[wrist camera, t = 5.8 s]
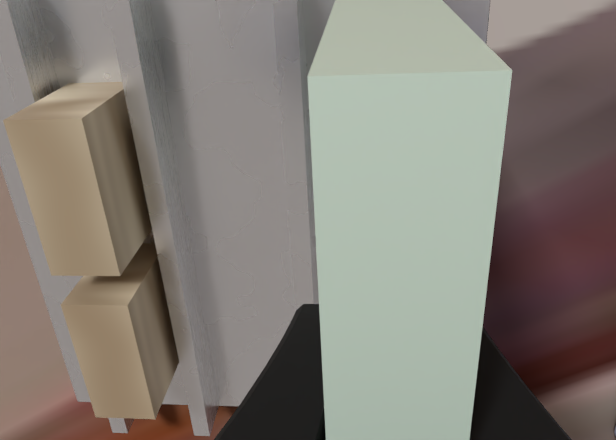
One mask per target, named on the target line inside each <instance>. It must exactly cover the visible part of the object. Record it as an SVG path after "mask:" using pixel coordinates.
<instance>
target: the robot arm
mask: <svg viewBox="0 0 616 440" xmlns="http://www.w3.org/2000/svg"><path fill="white" fill-rule="evenodd" d="M614 434H615V436H616V427H615V430H614ZM214 440H326V433H325V414H324V394H323V374H322V354H321V334H320V315H319V304H303V305H302V306H300V307H299V308H298V309H297V310H296V312H295V314H294V316H293V318H292V320H291V322H290V324H289V326H288V328H287V330H286V332H285V334H284V336H283V337H282V339H281V341H280V343H279V344H278V346H277V348H276V350H275V351H274V353H273V354H272V356H271V358H270V359H269V361H268V363H267V364H266V366H265V368H264V369H263V371H262V372H261V374H260V375H259V377H258V378H257V380H256V381H255V383H254V384H253V386H252V387H251V389H250V390H249V392H248V393H247V395H246V396H245V398H244V399H243V401H242V402H241V404H240V405H239V407H238V408H237V409H236V411H235V412H234V414H233V415H232V416H231V418H230V419H229V420H228V422H227V423H226V424H225V426H224V427H223V428H222V430H221V431H220V432H219V434H218V435H217V436H216V438H215V439H214ZM470 440H571V439H570V437H569V436H568V435H567V434H566V433H565V432H564V430H563V429H562V428H561V427H560V426H559V425H558V423H557V422H556V421H555V420H554V419H553V417H552V416H551V415H550V414H549V412H548V411H547V410H546V409H545V408H544V406H543V405H542V404H541V403H540V402H539V400H538V399H537V398H536V397H535V395H534V394H533V393H532V392H531V391H530V389H529V388H528V387H527V386H526V384H525V383H524V382H523V380H522V379H521V378H520V377H519V375H518V374H517V373H516V372H515V370H514V369H513V368H512V366H511V365H510V364H509V362H508V361H507V360H506V358H505V357H504V356H503V354H502V353H501V352H500V350H499V349H498V347H497V346H496V345H495V343H494V342H493V340H492V339H491V338H490V336H489V335H488V333H487V332H486V331H485V329H484V328H483V327H482V336H481V345H480V353H479V362H478V370H477V379H476V388H475V396H474V405H473V414H472V422H471V431H470Z"/></svg>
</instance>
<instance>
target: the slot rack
mask: <svg viewBox="0 0 616 440" xmlns="http://www.w3.org/2000/svg"><path fill="white" fill-rule="evenodd" d="M443 1H444V2H445V3H446V4H447V5H448V6H449V7H450V8H451V9H452V10H453V11H454V12H455V13H456V14H457V15H458V16H459V17H460V18H461V19H462V20H463V21H464V22H465V23H466V24H467V25H468V26H469V28H470V29H471V30H472V31H473V32H474V33H475V34H476V35H477V36H478V37H479V38H480V39H481V40H482V41H483V42H484V43H485V44H486V41H487V31H488V20H489V8H490V0H443ZM334 2H335V0H0V165H1V168H2V171H3V174H4V178H5V181H6V184H7V187H8V190H9V193H10V196H11V199H12V202H13V205H14V208H15V211H16V214H17V217H18V220H19V223H20V226H21V229H22V232H23V236H24V239H25V242H26V245H27V248H28V251H29V254H30V257H31V260H32V263H33V266H34V269H35V272H36V275H37V278H38V281H39V284H40V287H41V291H42V294H43V297H44V300H45V303H46V306H47V309H48V312H49V315H50V318H51V321H52V324H53V327H54V330H55V333H56V336H57V339H58V342H59V345H60V349H61V352H62V355H63V358H64V361H65V364H66V367H67V370H68V373H69V376H70V379H71V382H72V385H73V388H74V391H75V394H76V397H77V400H78V401H79V402H91V400H90V397H89V394H88V391H87V388H86V384H85V381H84V378H83V375H82V372H81V368H80V365H79V362H78V359H77V356H76V352H75V349H74V346H73V343H72V340H71V336H70V333H69V330H68V327H67V324H66V320H65V317H64V314H63V311H62V308H61V304H62V302H63V301H64V300H65V298H66V297H67V296H68V295H69V293H70V292H71V291H72V290H73V288H74V287H75V286H76V284H77V283H78V282H79V281H80V279H81V278H82V277H83V276H51V272H50V269H49V266H48V263H47V260H46V257H45V253H44V250H43V247H42V244H41V241H40V237H39V234H38V231H37V228H36V225H35V221H34V218H33V215H32V212H31V209H30V205H29V202H28V199H27V196H26V193H25V189H24V186H23V183H22V180H21V177H20V173H19V170H18V167H17V164H16V161H15V157H14V154H13V151H12V148H11V145H10V141H9V138H8V135H7V132H6V129H5V125H4V122H3V120H4V119H6V118H8V117H10V116H12V115H13V114H15V113H17V112H19V111H20V110H22V109H24V108H26V107H28V106H29V105H31V104H33V103H35V102H37V101H38V100H40V99H42V98H44V97H45V96H47V95H49V94H51V93H53V92H54V91H56V90H58V89H60V88H62V87H63V86H65V85H67V84H69V83H96V82H122V84H123V89H124V94H125V99H126V104H127V109H128V113H129V118H130V123H131V128H132V133H133V138H134V143H135V148H136V153H137V157H138V162H139V167H140V172H141V177H142V182H143V187H144V192H145V197H146V201H147V206H148V211H149V216H150V221H151V226H152V230H151V232H150V233H149V235H148V236H147V238H146V239H145V240H144V242H143V243H155V246H156V250H157V255H158V260H159V265H160V270H161V275H162V280H163V285H164V290H165V294H166V299H167V304H168V309H169V314H170V319H171V324H172V329H173V334H174V338H175V343H176V348H177V353H178V358H179V364H178V366H177V368H176V371H175V373H174V376H173V378H172V380H171V383H170V385H169V388H168V390H167V392H166V395H165V397H164V400H163V402H162V404H178V405H188V407H189V412H190V417H191V422H192V427H193V431H194V435H197V436H210V434H211V431H212V427H213V424H214V420H215V417H216V414H217V410H218V407H219V406H239V405H240V404H241V402H242V401H243V399H244V398H245V396H246V395H247V393H248V392H249V390H250V389H251V387H252V386H253V384H254V383H255V381H256V380H257V378H258V377H259V375H260V374H261V372H262V371H263V369H264V368H265V366H266V364H267V363H268V361H269V359H270V358H271V356H272V354H273V353H274V351H275V350H276V348H277V346H278V344H279V343H280V341H281V339H282V337H283V336H284V334H285V332H286V330H287V328H288V326H289V324H290V322H291V320H292V318H293V316H294V314H295V312H296V310H297V309H298V308H299V307H300V306H302V305H303V304H319V295H318V275H317V255H316V235H315V216H314V196H313V176H312V156H311V137H310V117H309V97H308V77H307V76H308V74H309V71H310V68H311V65H312V63H313V60H314V57H315V54H316V52H317V49H318V46H319V43H320V41H321V38H322V35H323V33H324V30H325V27H326V24H327V22H328V19H329V16H330V13H331V11H332V8H333V5H334ZM133 421H134V419H133V418H109V422H110V425H111V428H112V432H113V433H128V432H129V429H130V427H131V425H132V423H133Z"/></svg>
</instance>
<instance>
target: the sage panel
mask: <svg viewBox="0 0 616 440" xmlns="http://www.w3.org/2000/svg"><path fill="white" fill-rule="evenodd" d="M511 76H512V70H511V69H510V68H509V67H508V66H507V65H506V64H505V63H504V62H503V61H502V60H501V59H500V58H499V57H498V56H497V55H496V54H495V53H494V52H493V51H492V50H491V49H490V48H489V47H488V46H487V45H486V44H485V43H484V42H483V41H482V40H481V39H480V38H479V37H478V36H477V35H476V34H475V33H474V32H473V31H472V30H471V29H470V28H469V26H468V25H467V24H466V23H465V22H464V21H463V20H462V19H461V18H460V17H459V16H458V15H457V14H456V13H455V12H454V11H453V10H452V9H451V8H450V7H449V6H448V5H447V4H446V3H445V2H444V1H443V0H335V2H334V5H333V8H332V11H331V13H330V16H329V19H328V22H327V24H326V27H325V30H324V33H323V35H322V38H321V41H320V43H319V46H318V49H317V52H316V54H315V57H314V60H313V63H312V65H311V68H310V71H309V74H308V76H307V77H308V97H309V117H310V137H311V156H312V176H313V196H314V216H315V235H316V255H317V275H318V295H319V315H320V334H321V354H322V374H323V394H324V414H325V433H326V440H470V431H471V422H472V414H473V405H474V396H475V388H476V379H477V370H478V362H479V353H480V345H481V336H482V327H483V319H484V310H485V301H486V293H487V284H488V275H489V267H490V258H491V249H492V241H493V232H494V223H495V215H496V206H497V197H498V189H499V180H500V171H501V163H502V154H503V145H504V137H505V128H506V119H507V111H508V102H509V94H510V85H511Z"/></svg>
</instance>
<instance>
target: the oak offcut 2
mask: <svg viewBox="0 0 616 440" xmlns="http://www.w3.org/2000/svg"><path fill="white" fill-rule="evenodd" d="M61 308H62V311H63V314H64V317H65V320H66V324H67V327H68V330H69V333H70V336H71V340H72V343H73V346H74V349H75V352H76V356H77V359H78V362H79V365H80V368H81V372H82V375H83V378H84V381H85V384H86V388H87V391H88V394H89V397H90V400H91V404H92V407H93V410H94V413H95V416H96V417H102V418H133V419H156V416H157V414H158V412H159V409H160V407H161V404H162V402H163V400H164V397H165V395H166V392H167V390H168V388H169V385H170V383H171V380H172V378H173V376H174V373H175V371H176V368H177V366H178V364H179V358H178V353H177V348H176V343H175V338H174V334H173V329H172V324H171V319H170V314H169V309H168V304H167V299H166V294H165V290H164V285H163V280H162V275H161V270H160V265H159V260H158V255H157V250H156V246H155V243H142V245H141V246H140V248H139V249H138V251H137V252H136V254H135V255H134V257H133V258H132V260H131V261H130V262H129V264H128V265H127V267H126V268H125V270H124V271H123V273H122V274H121V276H83V277H82V278H81V279H80V281H79V282H78V283H77V284H76V286H75V287H74V288H73V290H72V291H71V292H70V293H69V295H68V296H67V297H66V298H65V300H64V301H63V302H62V304H61Z"/></svg>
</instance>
